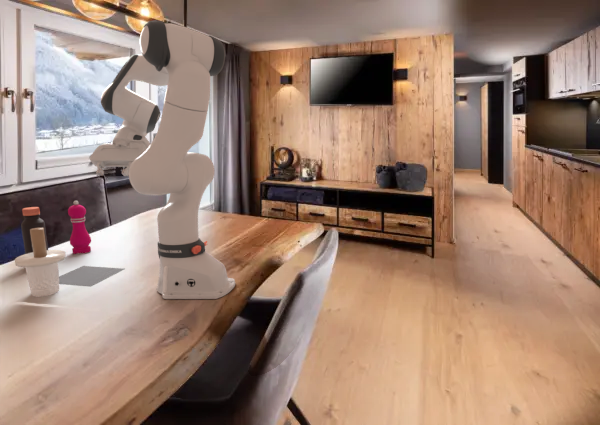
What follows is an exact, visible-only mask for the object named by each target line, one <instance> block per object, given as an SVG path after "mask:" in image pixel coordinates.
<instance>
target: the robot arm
mask: <svg viewBox="0 0 600 425" xmlns="http://www.w3.org/2000/svg"><path fill="white" fill-rule="evenodd" d="M139 46H140V54H136V53H135V54H132V55H131V56H130V57H129V58H128V59H127V61H126V62H125V63H124V64H123V65H122V67H121V68H120V70H119V72H118V73H116V76H115V77H114V78H113V81H112V82H111V83H110V84H109V85H108V86H107V87H106V88H105V89H104V91H103V92H102V94H101V97H100V104H101V107H102V109H103V110H104V111H105V113H108V114H111V115H113V116H116V117H118V118H121V119H122V120H123V121H122V124H121V127H120V128H118V130H117V132H116V134H115V136H114V138H113V139H112V142H109V143H108V142H103V143H102V144H100V145H97V147H96V148H95V149H94V151H93V152H92V154H90V157H89V160H90V162H91V163H92V165H93V166H95V167H96V168H97V169H96V172H95V174H96V175H97V176H102V177H103V176H104V173H105V171H104V170H103V169H105V167H109V168H110V167H112V168H113V167H116V168H117V167H120V168H122V167H123V168H122V170H121V174H122V175H123V176H124V177H128V179H129V182H130V183H129V184H130V185H131V187H132V188H133V189H134V190H135V191H136V192H137V193H138V194H140V195H145V196H163V195H169V198H168V200H167V203H166V204H165V205H164V206H163V207H162V208H161V210H159V212H158V214H157V215H156V216H157V217H156V223H157V234H158V241H157V255H158V259H159V271H158V272H159V274H158V275H159V276H158V282H157V287H156V291H157V292H158V293H159V294H161V295H162V299H165V300H215V299H216V300H217V299H220V298H222V297H224V296H227V294H229V293H231V291H232V290H233V289H234V288H235V286H236V280H235V278H233V277H232V278H231V277H228V271H227V269H226V266H225V265H224V263H223V262H221V261H220V260H218V259H217V258H215V257H214V256H213V255H212V254H210V253H209V252H208V251H206V246H207V245H208V241H207V240H206V241H204V242H203V241H202V240H201V238H200V234H199V209H200V204H201V202H202V198H203V196H204V193H205V191H206V189H207V187H208V186H209V185H210V184H211V183H212V182H213V179H214V178H215V166H214V163H213V161H212V158H210V157H209V156H208V155H206V154H202V153H200V152H199V153H198V152H193V151H190V150H191V148H193V147H194V145H196V144H197V143H198V142H200V141H201V139H202V137H203V136H204V131H205V126H206V121H207V115H208V109H209V105H210V98H211V77H215V76H217V75H218V74H219V73H220V72H221V71H222V70H223V68H224V65H225V62H226V61H225V60H226V50H225V47H224V46H225V45H224V44H223V42H222V41H221V40H220V39H218V38H216V37H214V36H212V35H207V34H204V33H202V32H199V31H197V30H194V29H190V28H189V27H187V26H183V25H177V24H175V23H169V22H168V23H167V22H166V23H165V22H164V21H162V20H149V21H147V23H145V24H144V26H143V27H142V30H141V33H140V36H139ZM132 81H135V82H136V81H138V82H143V83H146V84H149V85H153V86H156V87H157V86H158V87H159V86H160V87H164V86H166V91H165V95H164V100H163V108H162V113H161V110H160V108H159V106H158V104H157V103H155V102H153V101H152V100H149V99H147V98H146V97H144V96H141V95H140V94H138V93H136V92H134V91H132V90H131V89H129V88H128V85H129V84H130V82H132ZM160 118H161V119H160ZM159 119H160V122H159V127H158V129H157V132H156V135H155V136H154V138H153V139H152V141H151V142H150V141H149V139H148V138H147V135H148V134H150V133H152V132H154V130H155V127H156V125H157V123H158V121H159ZM124 167H125V168H124Z"/></svg>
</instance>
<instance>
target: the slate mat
mask: <svg viewBox="0 0 600 425" xmlns="http://www.w3.org/2000/svg"><path fill="white" fill-rule="evenodd" d="M123 270H125V268H121V267H120V268H119V267H105V266H103V267H102V266H91V265H82V266H80V267H77V268H75V269H74V270H71V271H69V272H66V273H64V274H62V275H59V285H67V286H78V287H79V286H80V287H93V286H95V285H97V284H99V283H100V282H102V281H104V280H107V279H108V278H110V277H112V276H114V275H117V274H118V273H120V272H122V271H123Z"/></svg>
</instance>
